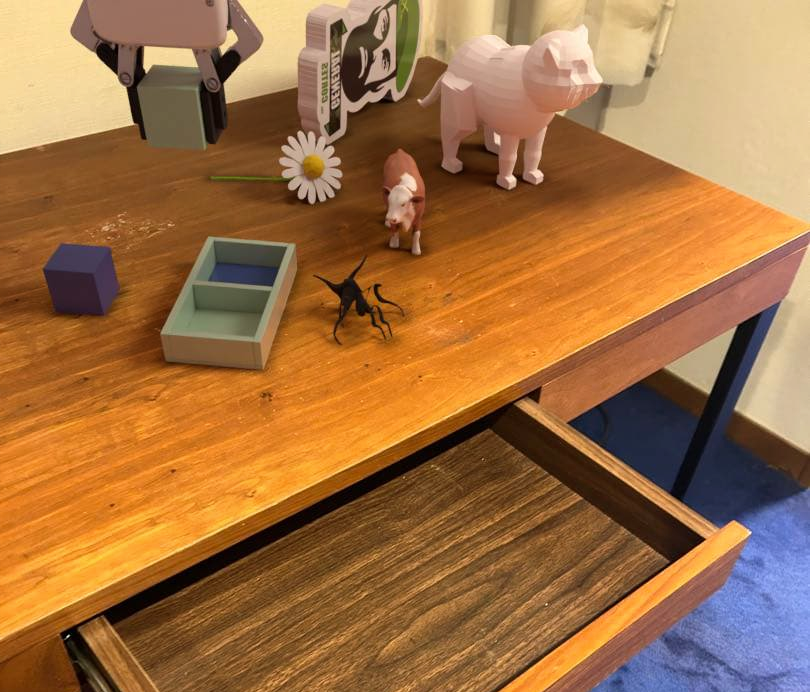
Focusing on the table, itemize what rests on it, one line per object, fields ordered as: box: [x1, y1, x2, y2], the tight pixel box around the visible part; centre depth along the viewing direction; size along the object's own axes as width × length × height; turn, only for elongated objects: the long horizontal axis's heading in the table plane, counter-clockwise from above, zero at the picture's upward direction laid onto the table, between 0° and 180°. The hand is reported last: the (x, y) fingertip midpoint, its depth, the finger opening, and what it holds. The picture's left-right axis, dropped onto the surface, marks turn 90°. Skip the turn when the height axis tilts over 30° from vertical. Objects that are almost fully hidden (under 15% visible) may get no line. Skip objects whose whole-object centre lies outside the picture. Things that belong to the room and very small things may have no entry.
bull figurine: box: [381, 148, 426, 256], centre depth 87 cm, size 4×13×8 cm, turn 0°
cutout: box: [296, 0, 424, 146], centre depth 106 cm, size 15×3×25 cm
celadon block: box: [137, 64, 209, 152], centre depth 68 cm, size 5×5×5 cm
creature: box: [312, 253, 405, 346], centre depth 77 cm, size 8×5×8 cm
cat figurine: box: [416, 23, 609, 191], centre depth 95 cm, size 25×10×17 cm, turn 47°
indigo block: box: [42, 242, 121, 317], centre depth 78 cm, size 5×5×5 cm
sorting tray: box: [159, 236, 298, 371], centre depth 79 cm, size 9×16×3 cm, turn 175°
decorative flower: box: [210, 130, 343, 205], centre depth 95 cm, size 8×6×15 cm
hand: (182, 132), depth 69 cm, fingers closed on celadon block, 4 cm apart
